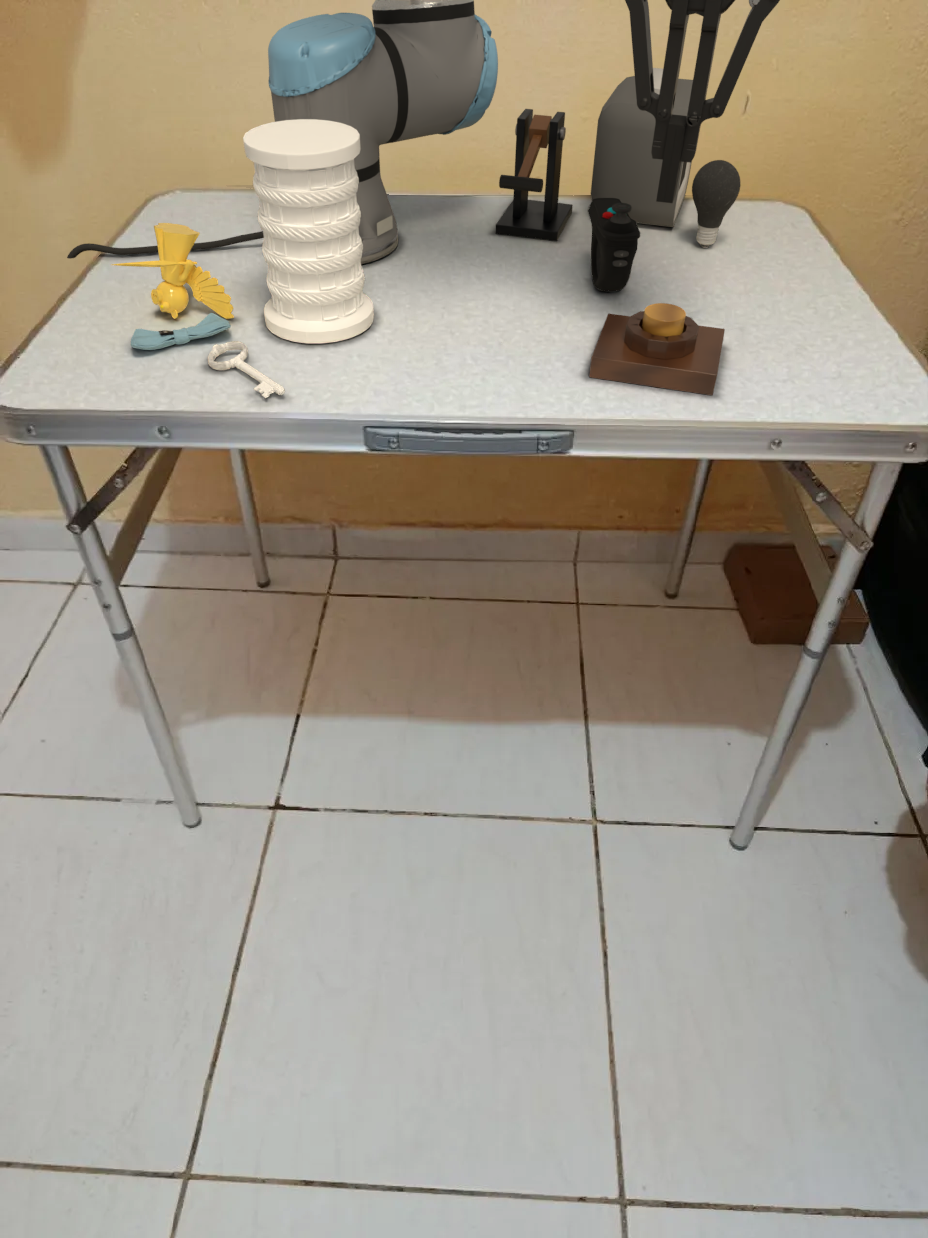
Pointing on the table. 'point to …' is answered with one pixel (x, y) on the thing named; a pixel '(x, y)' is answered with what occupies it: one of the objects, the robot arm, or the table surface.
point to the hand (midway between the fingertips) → (666, 196)
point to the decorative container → (310, 229)
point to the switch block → (658, 355)
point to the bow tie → (178, 334)
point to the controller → (612, 243)
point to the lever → (530, 157)
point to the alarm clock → (636, 154)
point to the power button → (663, 319)
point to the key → (243, 367)
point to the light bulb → (714, 197)
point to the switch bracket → (547, 214)
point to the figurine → (182, 274)
